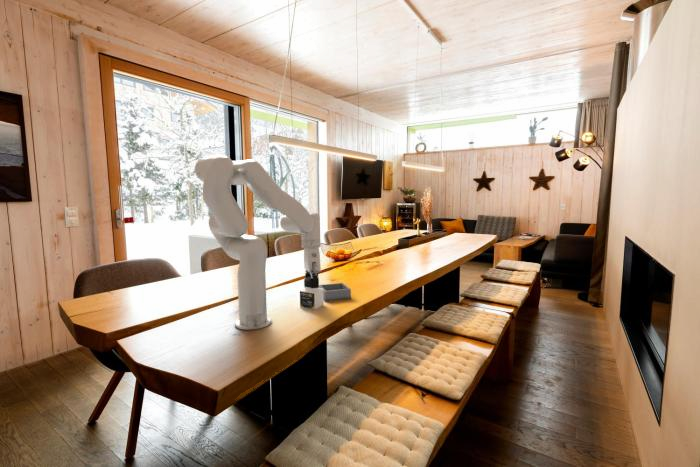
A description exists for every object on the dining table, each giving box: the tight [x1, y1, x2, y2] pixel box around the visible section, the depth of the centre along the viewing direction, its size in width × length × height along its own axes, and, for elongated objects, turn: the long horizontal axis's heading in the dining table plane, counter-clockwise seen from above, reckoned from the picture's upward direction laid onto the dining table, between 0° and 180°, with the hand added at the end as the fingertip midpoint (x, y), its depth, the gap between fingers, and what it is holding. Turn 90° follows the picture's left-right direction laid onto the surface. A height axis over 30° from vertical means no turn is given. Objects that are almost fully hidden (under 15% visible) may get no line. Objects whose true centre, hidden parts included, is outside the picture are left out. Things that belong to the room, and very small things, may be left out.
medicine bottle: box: [299, 277, 325, 311], centre depth 143 cm, size 7×7×12 cm
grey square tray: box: [319, 282, 352, 303], centre depth 157 cm, size 12×12×4 cm
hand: (312, 284), depth 143 cm, fingers open, 9 cm apart
